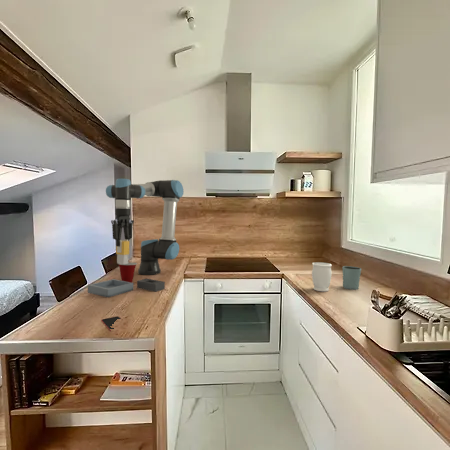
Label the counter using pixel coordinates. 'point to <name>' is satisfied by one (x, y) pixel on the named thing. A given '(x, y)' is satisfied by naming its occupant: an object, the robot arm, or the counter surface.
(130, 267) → the plastic cup
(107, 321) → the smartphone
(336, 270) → the counter surface
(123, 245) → the block
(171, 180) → the robot arm
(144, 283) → the block
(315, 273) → the jar
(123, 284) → the parts tray
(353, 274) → the teal tapered cup
